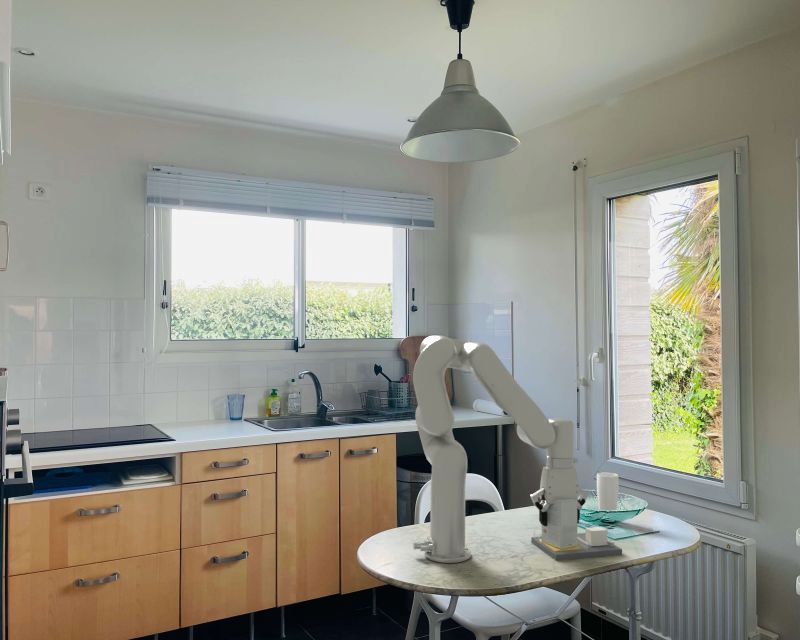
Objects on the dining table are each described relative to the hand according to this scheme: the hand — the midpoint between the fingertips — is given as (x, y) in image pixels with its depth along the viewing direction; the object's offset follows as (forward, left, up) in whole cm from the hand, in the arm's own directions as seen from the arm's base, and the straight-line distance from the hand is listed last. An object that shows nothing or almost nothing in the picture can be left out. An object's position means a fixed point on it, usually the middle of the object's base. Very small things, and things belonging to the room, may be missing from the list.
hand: (559, 523), depth 186 cm
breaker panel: (+5, 0, -7) cm, 9 cm away
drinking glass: (+28, +21, -7) cm, 36 cm away
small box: (0, 0, -6) cm, 6 cm away
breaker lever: (+10, -3, -6) cm, 12 cm away
